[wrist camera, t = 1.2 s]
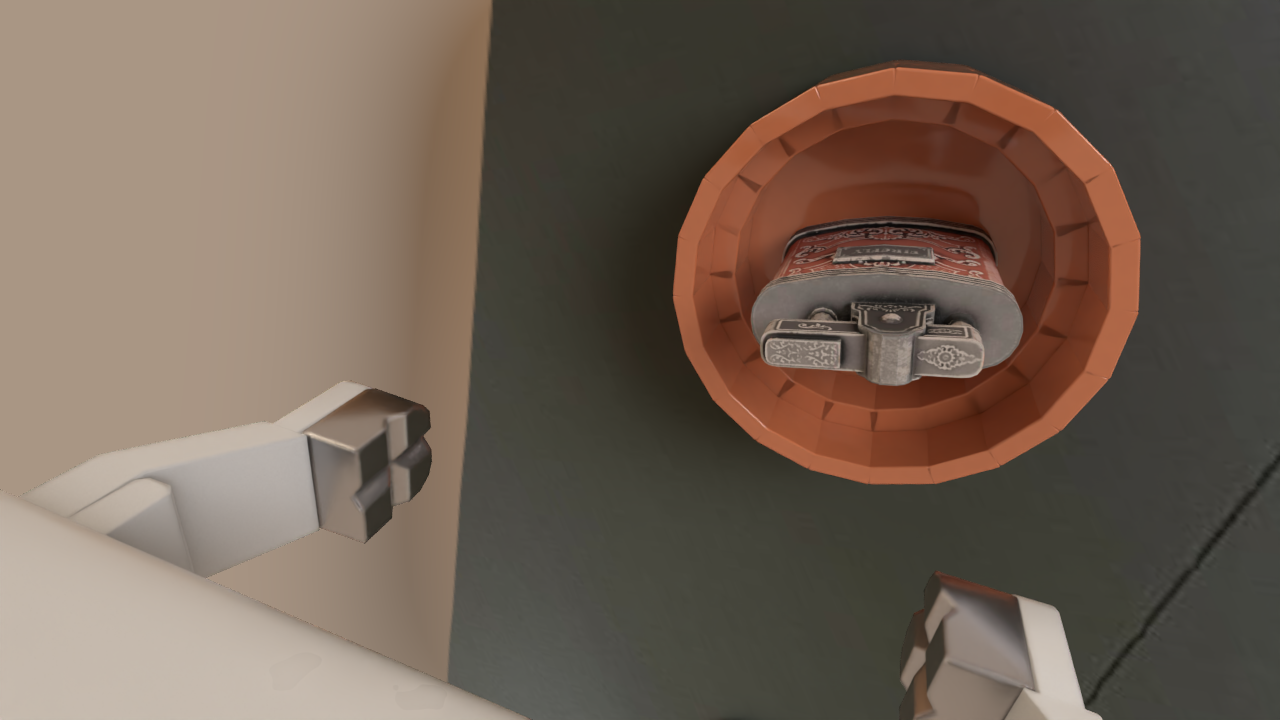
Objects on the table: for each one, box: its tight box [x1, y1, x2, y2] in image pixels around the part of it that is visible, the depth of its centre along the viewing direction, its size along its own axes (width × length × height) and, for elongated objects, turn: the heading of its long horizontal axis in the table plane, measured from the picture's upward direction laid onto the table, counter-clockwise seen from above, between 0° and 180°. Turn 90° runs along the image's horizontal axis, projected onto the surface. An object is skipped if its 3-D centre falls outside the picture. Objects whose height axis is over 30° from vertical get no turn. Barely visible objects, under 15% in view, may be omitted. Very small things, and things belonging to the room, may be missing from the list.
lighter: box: [751, 216, 1023, 386], centre depth 23 cm, size 8×3×10 cm, turn 96°
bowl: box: [673, 60, 1141, 484], centre depth 25 cm, size 15×15×6 cm
